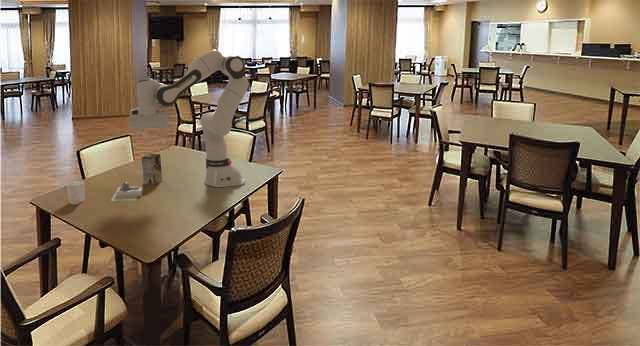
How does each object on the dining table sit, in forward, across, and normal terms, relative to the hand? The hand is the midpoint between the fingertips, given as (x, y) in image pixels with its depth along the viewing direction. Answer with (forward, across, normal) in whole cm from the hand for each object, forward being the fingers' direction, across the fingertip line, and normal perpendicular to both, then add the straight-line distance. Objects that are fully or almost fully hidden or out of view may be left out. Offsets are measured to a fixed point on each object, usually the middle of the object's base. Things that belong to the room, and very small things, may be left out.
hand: (150, 136), depth 266 cm
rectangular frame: (+27, +11, +14) cm, 32 cm away
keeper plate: (+28, +13, +14) cm, 34 cm away
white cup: (+28, +35, +19) cm, 48 cm away
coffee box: (+29, +1, -7) cm, 30 cm away
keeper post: (+27, +12, +14) cm, 33 cm away
